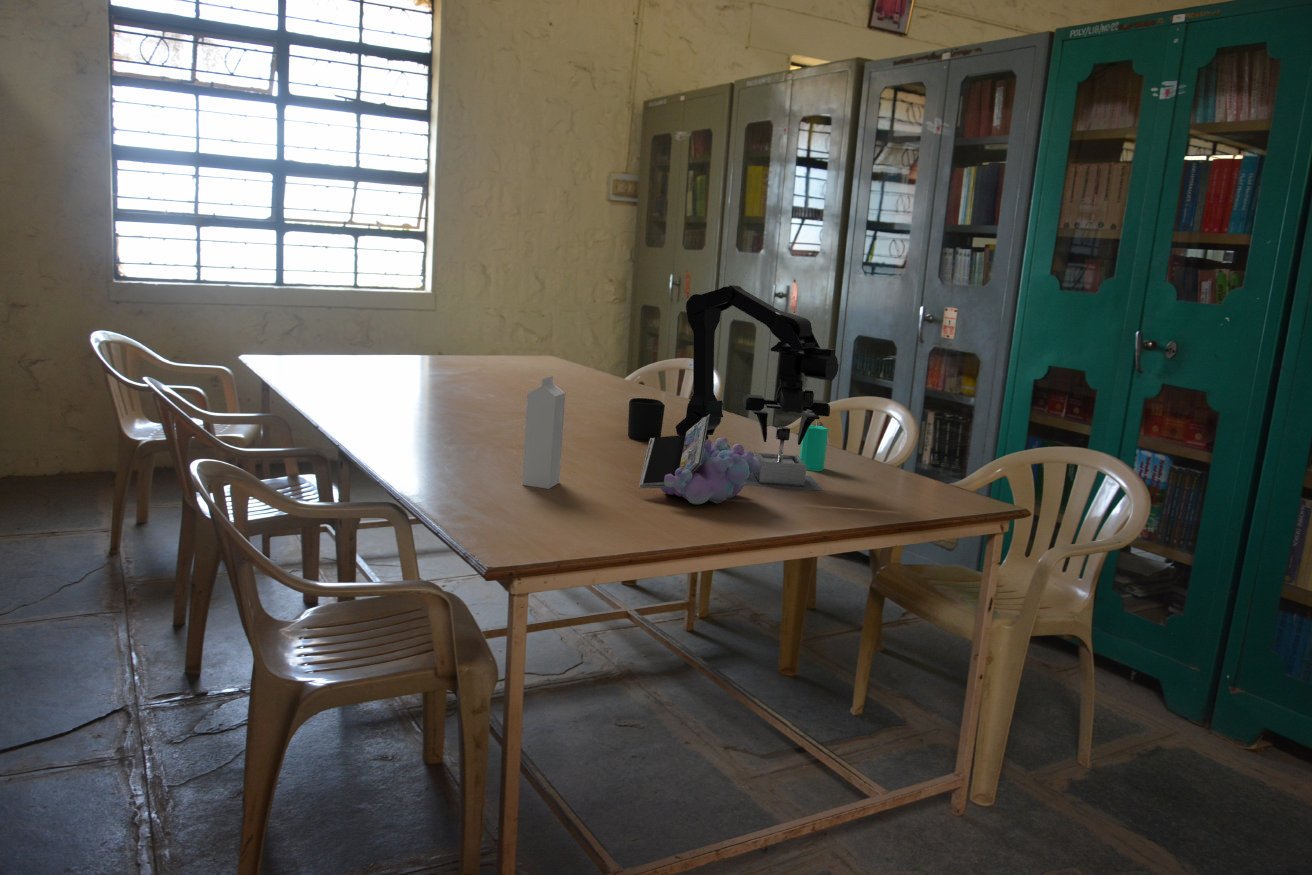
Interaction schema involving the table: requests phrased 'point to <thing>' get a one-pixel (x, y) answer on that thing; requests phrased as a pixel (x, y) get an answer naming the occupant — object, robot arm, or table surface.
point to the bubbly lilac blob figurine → (697, 466)
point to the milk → (543, 435)
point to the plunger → (781, 445)
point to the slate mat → (808, 485)
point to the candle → (814, 447)
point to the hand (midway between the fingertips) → (781, 443)
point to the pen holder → (645, 418)
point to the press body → (781, 471)
